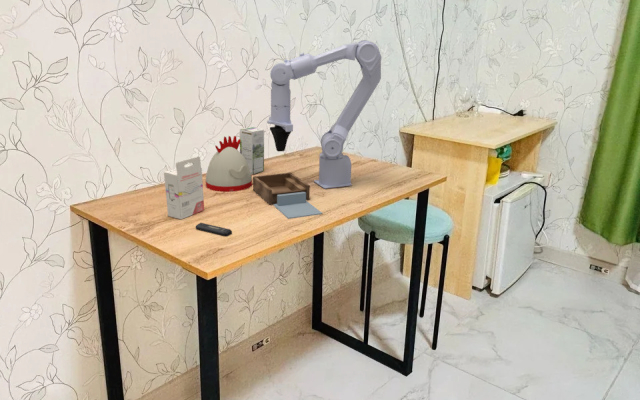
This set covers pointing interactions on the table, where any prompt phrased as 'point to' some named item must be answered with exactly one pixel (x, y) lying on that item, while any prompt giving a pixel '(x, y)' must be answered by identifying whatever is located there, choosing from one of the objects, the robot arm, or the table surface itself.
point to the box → (278, 186)
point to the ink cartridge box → (184, 189)
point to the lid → (295, 205)
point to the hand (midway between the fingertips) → (280, 150)
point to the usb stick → (213, 229)
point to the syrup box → (253, 148)
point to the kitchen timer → (228, 168)
